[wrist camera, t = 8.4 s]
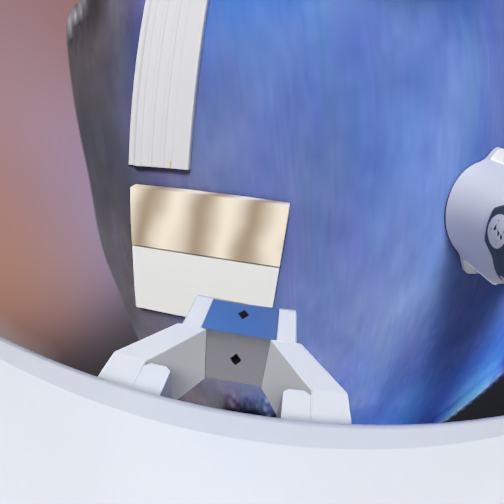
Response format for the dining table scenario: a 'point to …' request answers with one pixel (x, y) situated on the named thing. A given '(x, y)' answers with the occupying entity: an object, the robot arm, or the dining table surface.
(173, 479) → the robot arm
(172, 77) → the baseboard
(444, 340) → the dining table surface
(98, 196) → the dining table surface
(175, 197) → the birch plank
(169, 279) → the white board
